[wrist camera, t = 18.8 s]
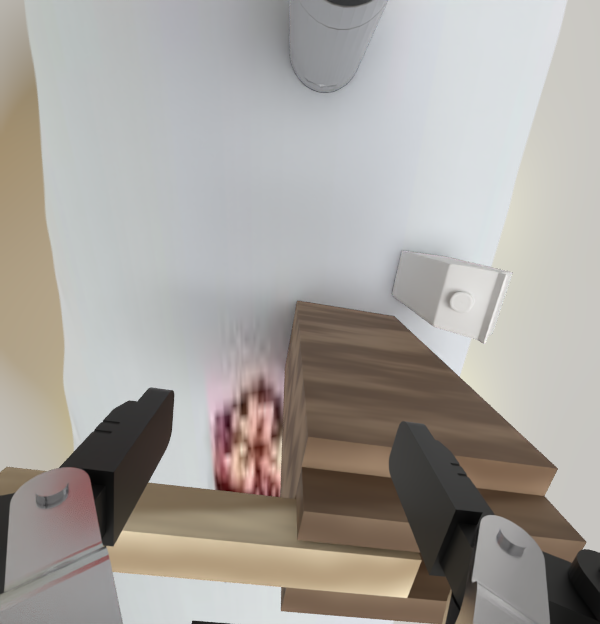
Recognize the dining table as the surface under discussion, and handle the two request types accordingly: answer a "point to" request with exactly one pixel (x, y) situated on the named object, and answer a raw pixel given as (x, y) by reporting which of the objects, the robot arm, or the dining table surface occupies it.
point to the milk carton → (452, 292)
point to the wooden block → (240, 543)
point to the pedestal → (377, 447)
